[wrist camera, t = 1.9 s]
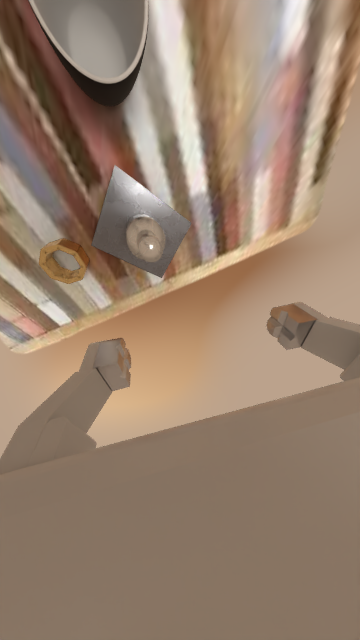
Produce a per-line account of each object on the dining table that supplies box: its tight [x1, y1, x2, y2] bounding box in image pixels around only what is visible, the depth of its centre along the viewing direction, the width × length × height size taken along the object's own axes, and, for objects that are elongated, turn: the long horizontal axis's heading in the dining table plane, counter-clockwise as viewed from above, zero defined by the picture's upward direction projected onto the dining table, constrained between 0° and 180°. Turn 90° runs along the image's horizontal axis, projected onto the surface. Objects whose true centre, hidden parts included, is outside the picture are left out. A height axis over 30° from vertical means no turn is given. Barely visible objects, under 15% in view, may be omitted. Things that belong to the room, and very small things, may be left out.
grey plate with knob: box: [91, 166, 191, 278], centre depth 26 cm, size 14×12×13 cm
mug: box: [28, 0, 149, 106], centre depth 14 cm, size 12×9×10 cm
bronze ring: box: [39, 238, 89, 284], centre depth 29 cm, size 6×6×4 cm
